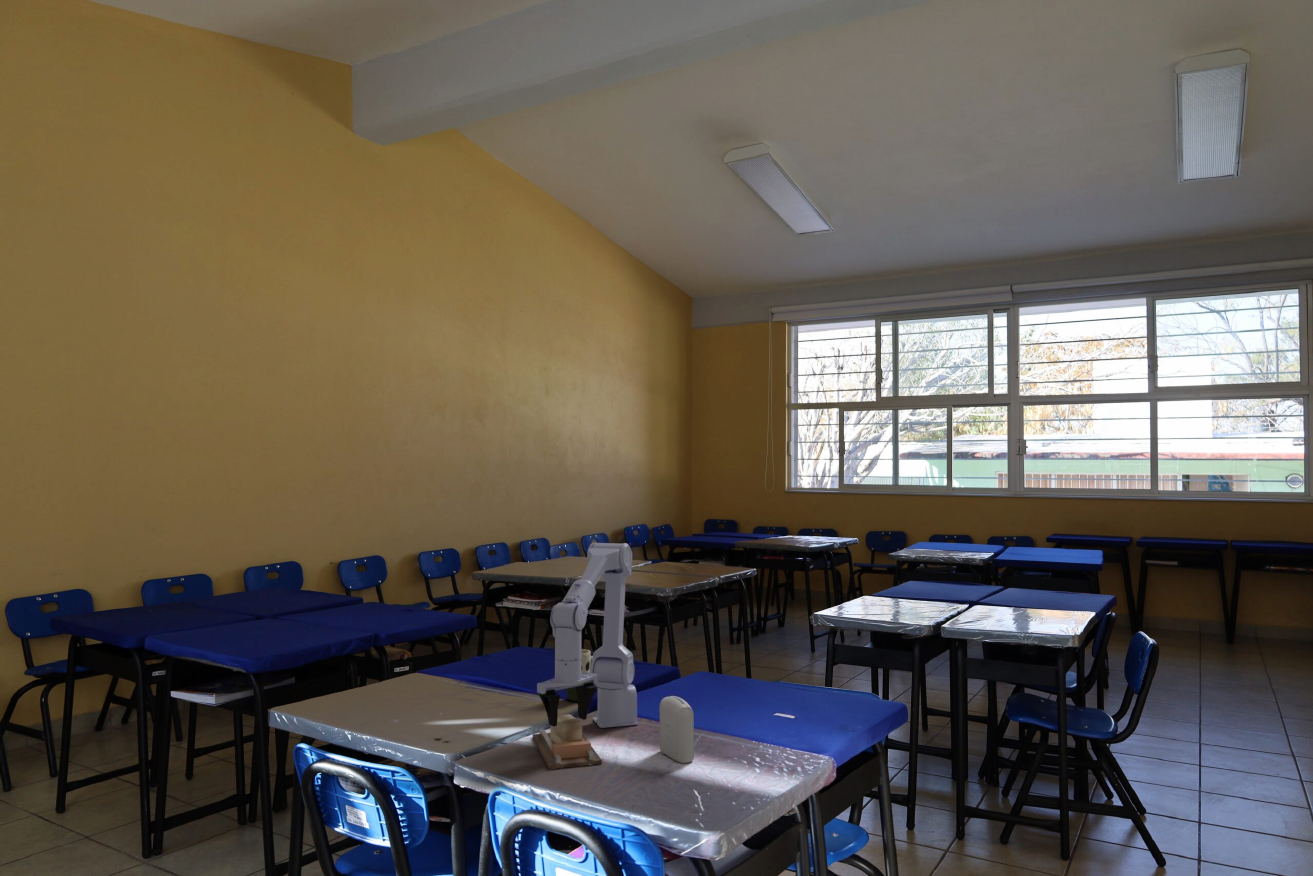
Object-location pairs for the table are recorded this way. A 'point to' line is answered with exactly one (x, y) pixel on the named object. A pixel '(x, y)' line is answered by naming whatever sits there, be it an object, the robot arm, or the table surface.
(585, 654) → the character mug
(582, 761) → the mounting board
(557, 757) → the rail
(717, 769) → the table surface
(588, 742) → the tan wooden bar
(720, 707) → the table surface
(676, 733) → the photo printer
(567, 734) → the block
